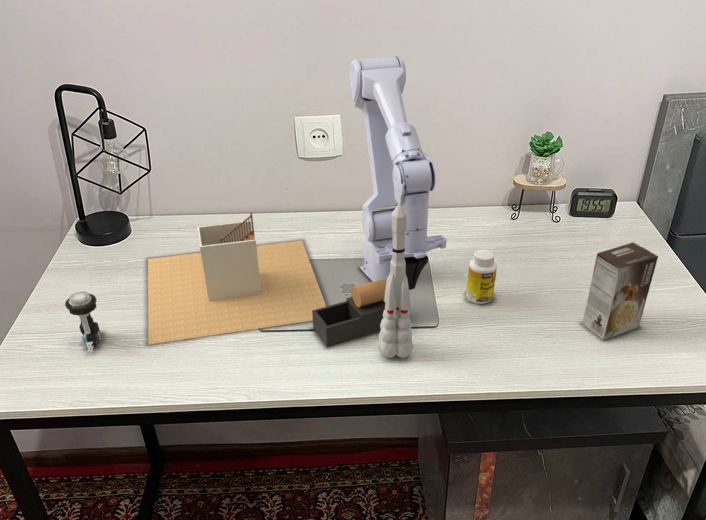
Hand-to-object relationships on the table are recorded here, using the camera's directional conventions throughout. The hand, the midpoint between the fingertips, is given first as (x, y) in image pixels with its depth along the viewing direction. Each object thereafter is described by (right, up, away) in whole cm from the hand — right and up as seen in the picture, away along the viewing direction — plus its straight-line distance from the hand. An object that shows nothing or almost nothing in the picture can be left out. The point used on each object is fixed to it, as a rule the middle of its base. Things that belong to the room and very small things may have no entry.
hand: (409, 286), depth 136 cm
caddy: (-11, -8, -1) cm, 14 cm away
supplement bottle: (+15, -2, +8) cm, 17 cm away
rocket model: (-3, -13, -7) cm, 15 cm away
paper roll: (-7, -1, -3) cm, 8 cm away
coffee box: (+39, -8, 0) cm, 40 cm away
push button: (-60, -11, -4) cm, 61 cm away
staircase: (-37, +1, +11) cm, 38 cm away
